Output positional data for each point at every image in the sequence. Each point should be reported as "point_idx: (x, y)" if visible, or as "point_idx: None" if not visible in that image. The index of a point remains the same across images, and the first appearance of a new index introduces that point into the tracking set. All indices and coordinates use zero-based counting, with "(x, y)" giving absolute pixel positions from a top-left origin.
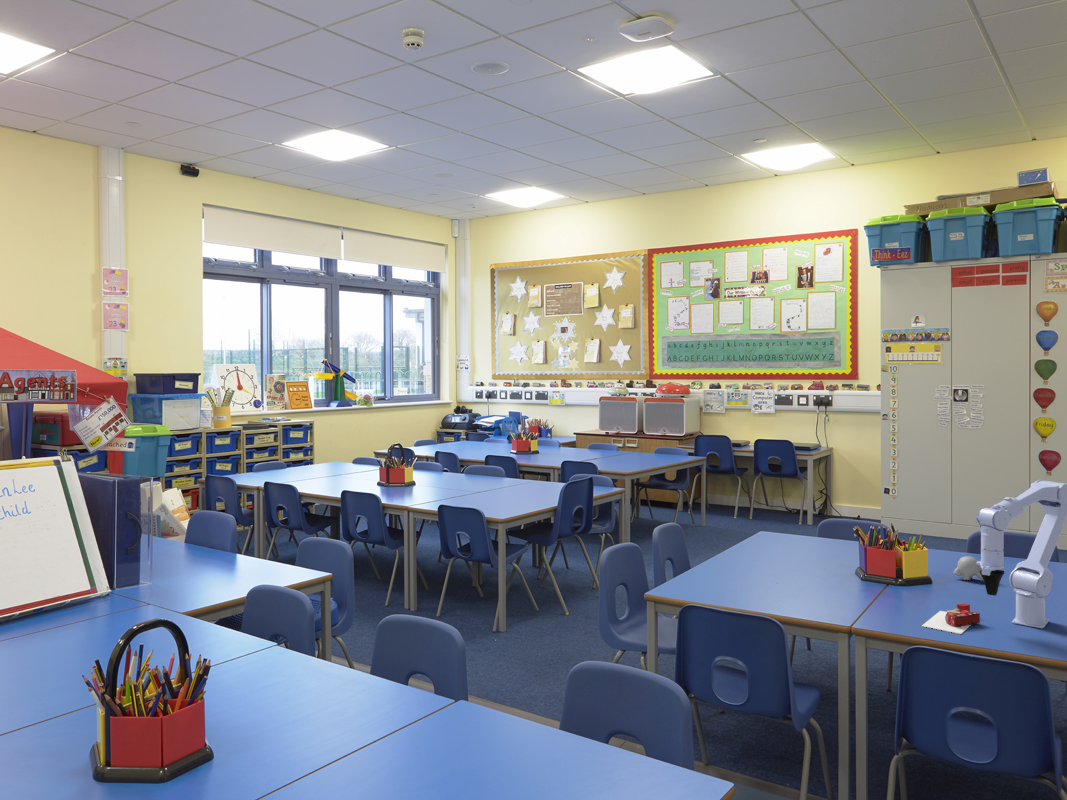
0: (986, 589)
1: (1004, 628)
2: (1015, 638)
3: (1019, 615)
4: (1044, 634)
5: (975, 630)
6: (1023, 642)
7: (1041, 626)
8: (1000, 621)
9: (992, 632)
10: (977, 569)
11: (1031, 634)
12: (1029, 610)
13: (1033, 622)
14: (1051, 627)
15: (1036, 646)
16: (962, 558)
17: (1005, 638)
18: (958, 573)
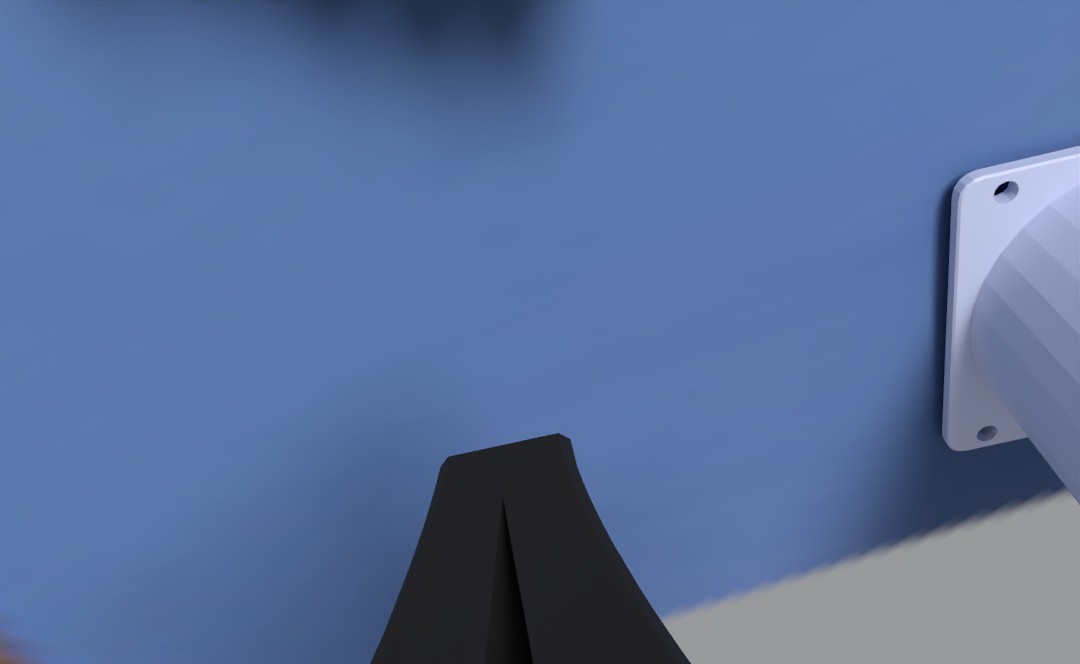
0: (415, 554)
1: (655, 212)
2: (377, 434)
3: (1058, 289)
4: (763, 506)
5: (210, 28)
6: (323, 518)
7: (971, 436)
8: (956, 34)
9: (351, 206)
10: None
11: (662, 453)
12: (1066, 469)
13: (996, 392)
14: None
15: (320, 607)
16: None
17: (273, 385)
18: None
